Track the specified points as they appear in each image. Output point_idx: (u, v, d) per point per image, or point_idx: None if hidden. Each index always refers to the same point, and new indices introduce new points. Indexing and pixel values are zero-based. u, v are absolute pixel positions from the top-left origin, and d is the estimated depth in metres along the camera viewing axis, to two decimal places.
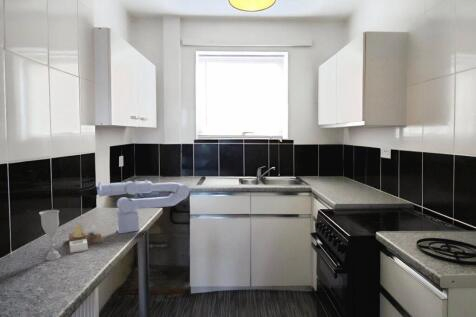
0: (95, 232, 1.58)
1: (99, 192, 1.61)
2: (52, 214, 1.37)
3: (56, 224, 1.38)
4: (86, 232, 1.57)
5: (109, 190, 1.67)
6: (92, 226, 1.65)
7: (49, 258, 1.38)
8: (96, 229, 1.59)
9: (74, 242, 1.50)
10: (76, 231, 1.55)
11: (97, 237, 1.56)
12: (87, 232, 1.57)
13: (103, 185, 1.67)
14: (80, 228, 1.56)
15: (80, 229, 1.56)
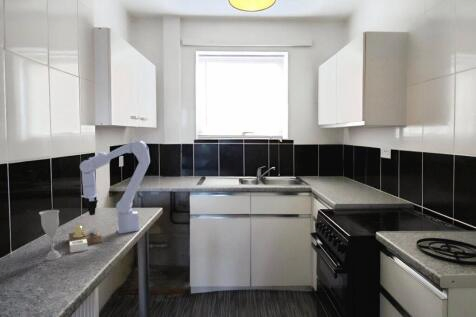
0: (95, 232, 1.58)
1: (91, 199, 1.64)
2: (52, 214, 1.37)
3: (56, 224, 1.38)
4: (86, 232, 1.57)
5: (90, 187, 1.68)
6: (92, 226, 1.65)
7: (49, 258, 1.38)
8: (96, 229, 1.59)
9: (74, 242, 1.50)
10: (76, 231, 1.55)
11: (97, 237, 1.56)
12: (87, 232, 1.57)
13: (84, 193, 1.68)
14: (80, 228, 1.56)
15: (80, 229, 1.56)
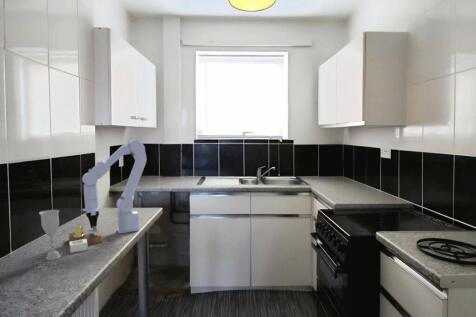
0: (95, 233, 1.56)
1: (93, 213, 1.60)
2: (52, 214, 1.37)
3: (56, 224, 1.38)
4: (86, 233, 1.56)
5: (91, 201, 1.64)
6: (92, 227, 1.64)
7: (49, 258, 1.38)
8: (96, 230, 1.58)
9: (74, 242, 1.50)
10: (76, 231, 1.55)
11: (97, 237, 1.56)
12: (87, 233, 1.56)
13: (86, 206, 1.64)
14: (80, 228, 1.56)
15: (80, 229, 1.56)
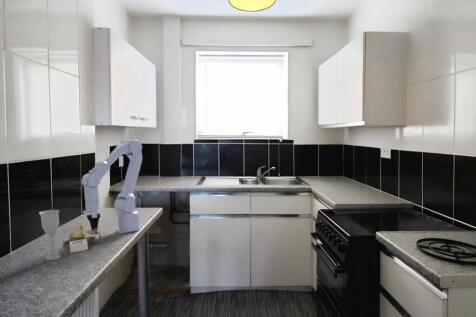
0: (96, 236, 1.51)
1: (94, 215, 1.55)
2: (52, 214, 1.37)
3: (56, 224, 1.38)
4: (87, 236, 1.51)
5: (92, 203, 1.59)
6: (93, 229, 1.59)
7: (49, 258, 1.38)
8: (97, 233, 1.53)
9: (74, 242, 1.50)
10: (76, 231, 1.55)
11: None
12: (88, 236, 1.51)
13: (87, 209, 1.59)
14: (80, 228, 1.56)
15: (80, 229, 1.56)
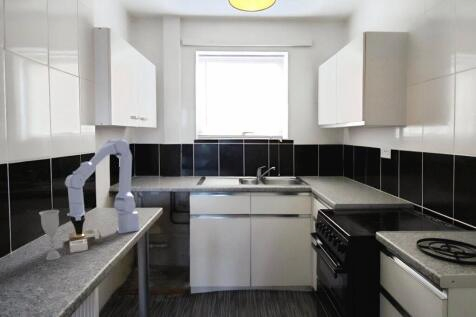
0: (96, 236, 1.51)
1: (77, 218, 1.49)
2: (52, 214, 1.37)
3: (56, 224, 1.38)
4: (87, 236, 1.51)
5: (76, 205, 1.53)
6: (93, 230, 1.59)
7: (49, 258, 1.38)
8: (97, 233, 1.53)
9: (74, 242, 1.50)
10: None
11: None
12: (88, 236, 1.51)
13: (71, 211, 1.53)
14: None
15: None
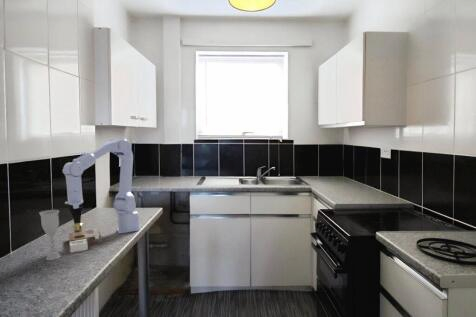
0: (96, 236, 1.51)
1: (75, 206, 1.46)
2: (52, 214, 1.37)
3: (56, 224, 1.38)
4: (87, 236, 1.51)
5: (75, 193, 1.50)
6: (93, 230, 1.59)
7: (49, 258, 1.38)
8: (97, 233, 1.53)
9: (74, 242, 1.50)
10: None
11: None
12: (88, 236, 1.51)
13: (69, 199, 1.50)
14: None
15: None
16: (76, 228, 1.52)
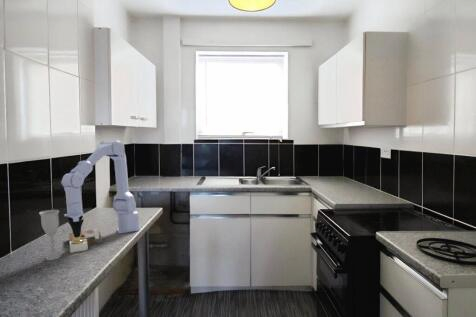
0: (96, 236, 1.51)
1: (75, 219, 1.41)
2: (52, 214, 1.37)
3: (56, 224, 1.38)
4: (87, 236, 1.51)
5: (74, 205, 1.45)
6: (93, 230, 1.59)
7: (49, 258, 1.38)
8: (97, 233, 1.53)
9: None
10: None
11: None
12: (88, 236, 1.51)
13: (68, 211, 1.45)
14: None
15: None
16: None
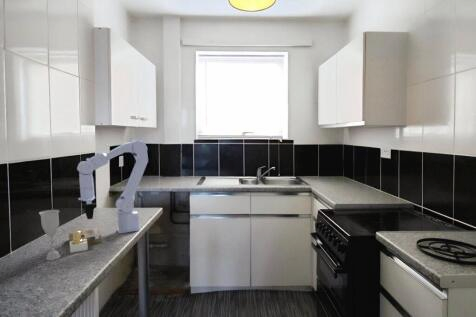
0: (96, 236, 1.51)
1: (88, 202, 1.57)
2: (52, 214, 1.36)
3: (56, 224, 1.38)
4: (87, 236, 1.51)
5: (87, 190, 1.61)
6: (93, 230, 1.59)
7: (49, 258, 1.38)
8: (97, 233, 1.53)
9: None
10: (74, 236, 1.47)
11: None
12: (88, 236, 1.51)
13: (82, 195, 1.61)
14: (78, 233, 1.48)
15: (78, 234, 1.48)
16: None
